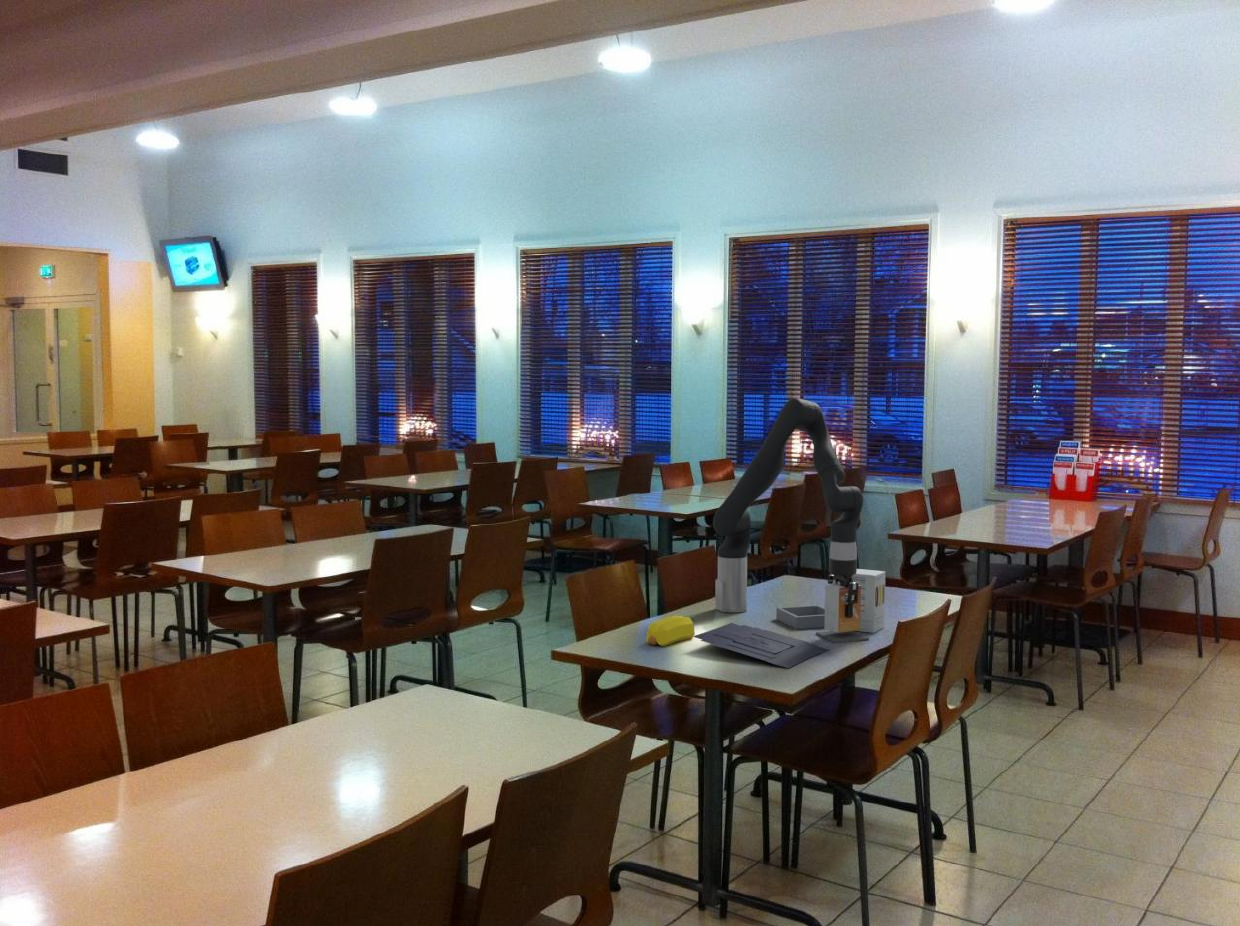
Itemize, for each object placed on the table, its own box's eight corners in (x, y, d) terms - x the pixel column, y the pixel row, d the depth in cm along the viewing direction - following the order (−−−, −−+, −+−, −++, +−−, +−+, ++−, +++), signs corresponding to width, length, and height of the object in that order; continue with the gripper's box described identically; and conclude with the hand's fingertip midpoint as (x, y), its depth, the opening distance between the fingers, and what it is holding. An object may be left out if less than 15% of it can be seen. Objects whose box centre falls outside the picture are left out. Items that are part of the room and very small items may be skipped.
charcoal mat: (833, 642, 304) (833, 640, 304) (815, 634, 314) (815, 632, 314) (869, 640, 307) (869, 638, 307) (850, 631, 317) (850, 629, 317)
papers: (733, 630, 313) (735, 618, 313) (828, 659, 296) (830, 646, 296) (687, 647, 294) (688, 634, 293) (786, 678, 277) (788, 665, 276)
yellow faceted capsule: (639, 645, 302) (661, 649, 297) (639, 621, 302) (661, 625, 297) (679, 633, 316) (701, 638, 311) (680, 610, 315) (701, 614, 310)
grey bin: (796, 628, 321) (796, 617, 320) (776, 618, 334) (776, 607, 334) (839, 625, 325) (839, 614, 324) (818, 616, 338) (818, 604, 338)
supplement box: (874, 633, 315) (874, 575, 314) (843, 629, 320) (844, 572, 319) (885, 627, 323) (886, 570, 322) (855, 623, 328) (856, 567, 327)
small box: (838, 633, 306) (839, 587, 305) (823, 629, 311) (824, 583, 310) (860, 630, 310) (861, 585, 308) (846, 626, 315) (846, 581, 314)
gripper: (867, 560, 303) (866, 619, 304) (843, 552, 317) (842, 609, 318) (843, 561, 301) (842, 621, 302) (819, 553, 315) (818, 610, 316)
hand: (842, 614), depth 310 cm, fingers closed on small box, 7 cm apart
